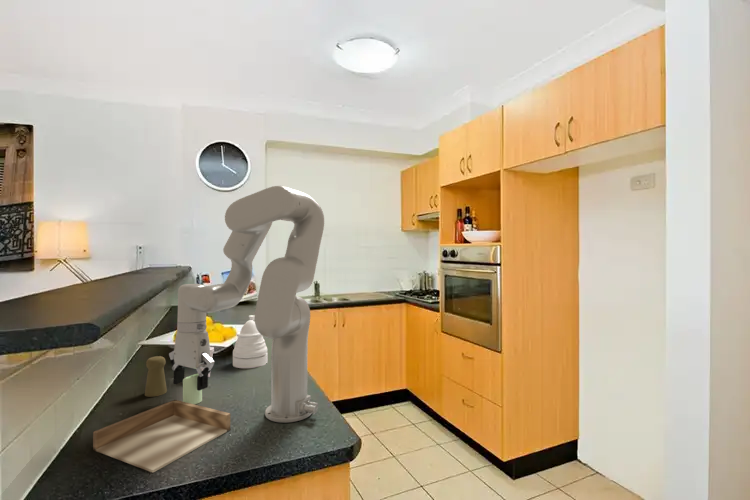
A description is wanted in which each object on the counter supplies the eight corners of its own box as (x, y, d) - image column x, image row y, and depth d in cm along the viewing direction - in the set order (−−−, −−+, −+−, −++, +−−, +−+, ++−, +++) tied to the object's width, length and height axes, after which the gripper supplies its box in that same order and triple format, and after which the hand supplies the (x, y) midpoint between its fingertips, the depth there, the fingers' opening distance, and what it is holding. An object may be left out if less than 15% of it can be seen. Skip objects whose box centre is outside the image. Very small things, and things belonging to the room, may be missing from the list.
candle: (178, 404, 109) (178, 375, 109) (189, 398, 114) (189, 370, 114) (195, 405, 108) (195, 376, 108) (205, 399, 113) (205, 371, 113)
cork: (157, 397, 114) (157, 360, 114) (139, 395, 116) (139, 359, 116) (171, 390, 120) (171, 355, 120) (154, 388, 122) (154, 353, 122)
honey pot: (240, 358, 156) (240, 313, 156) (271, 358, 155) (271, 314, 155) (226, 368, 143) (226, 319, 143) (261, 368, 142) (261, 320, 142)
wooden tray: (230, 429, 94) (230, 413, 94) (153, 472, 76) (153, 452, 76) (174, 414, 103) (174, 399, 103) (93, 450, 85) (93, 431, 85)
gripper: (224, 328, 111) (222, 387, 111) (182, 321, 118) (181, 376, 118) (202, 333, 104) (200, 396, 104) (159, 325, 111) (158, 384, 112)
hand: (190, 385), depth 111 cm, fingers open, 9 cm apart
